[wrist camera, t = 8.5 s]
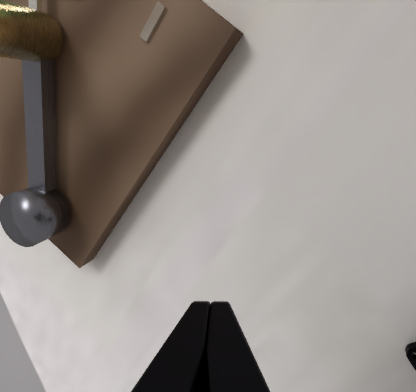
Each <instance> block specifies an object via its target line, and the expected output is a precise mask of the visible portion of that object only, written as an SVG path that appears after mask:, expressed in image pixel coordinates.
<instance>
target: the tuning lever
mask: <svg viewBox="0 0 416 392" xmlns="http://www.w3.org/2000/svg"><path fill="white" fill-rule="evenodd" d="M28 3H29V7H25V6H22V5H19V4H15V3H12V2H9V1H5V0H0V57H2V58H10V59H18V60H22V75H23V94H24V112H25V131H26V150H27V169H28V188H27V189H24V190H20V191H17V192H13V193H10V194H7V195H6V196H5V197H4V198H3V199H2V201H1V203H0V222H1V225H2V227H3V229H4V231H5V232H6V234H7V235H8V236H9V237H10V239H12V240H13V241H14V242H15V243H17V244H19V245H21V246H24V247H31V246H34V245H36V244H38V243H40V242H42V241H44V240H46V239H48V238H50V237H53V236H55V235H57V234H59V233H61V232H63V231H64V230H65V229H66V228H67V227H68V225H69V222H70V209H69V205H68V203H67V201H66V199H65V197H64V196H63V194H62V193H61V192H60V191H59V190H58V189H57V181H56V144H55V106H54V68H53V60H55V59H56V58H57V56H58V55H59V53H60V51H61V47H62V33H61V29H60V27H59V25H58V23H57V21H56V20H55V19H54V18H53V17H52V16H51V15H50V14H48V13H45V12H43V10H42V0H28Z"/></svg>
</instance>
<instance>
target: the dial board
mask: <svg viewBox="0 0 416 392" xmlns="http://www.w3.org/2000/svg"><path fill="white" fill-rule="evenodd" d="M5 1H9V2H12V3H15V4H19V5H22V6H25V7H29V3H28V0H5ZM42 10H43V12H45V13H48V14H50V15H51V16H52V17H53V18H54V19H55V20H56V21H57V23H58V25H59V27H60V29H61V33H62V47H61V51H60V53H59V55H58V56H57V58H56V59H55V60H53V68H54V106H55V144H56V181H57V189H58V190H59V191H60V192H61V193H62V194H63V196H64V197H65V199H66V201H67V203H68V205H69V209H70V222H69V225H68V227H67V228H66V229H65V230H64V231H63V232H61V233H59V234H57V235H55V236H53V237H50V238H48V239H49V240H50V241H51V242H52V243H53V244H54V245H55V246H57V247H58V248H59V249H60V250H61V251H62V252H63V253H64V254H65V255H66V256H67V257H68V258H69V259H70V260H71V261H72V262H74V263H75V264H76V265H77V266H78V267H79V268H80V267H82V266H83V265H85V264H87V263H88V262H90V261H91V260H93V258H94V257H95V255H96V254H97V252H98V251H99V249H100V248H101V246H102V245H103V243H104V242H105V240H106V239H107V237H108V236H109V234H110V233H111V231H112V230H113V228H114V227H115V225H116V224H117V222H118V221H119V219H120V218H121V216H122V215H123V213H124V212H125V210H126V209H127V207H128V206H129V204H130V203H131V201H132V200H133V198H134V197H135V195H136V194H137V192H138V191H139V189H140V188H141V186H142V185H143V183H144V182H145V180H146V179H147V177H148V176H149V174H150V173H151V171H152V170H153V168H154V167H155V165H156V164H157V162H158V161H159V159H160V158H161V156H162V155H163V153H164V152H165V150H166V149H167V147H168V146H169V144H170V143H171V141H172V140H173V138H174V137H175V135H176V134H177V132H178V131H179V129H180V128H181V126H182V125H183V123H184V122H185V120H186V119H187V117H188V116H189V114H190V113H191V111H192V110H193V108H194V107H195V105H196V104H197V102H198V101H199V99H200V98H201V96H202V95H203V93H204V92H205V90H206V89H207V87H208V86H209V84H210V83H211V81H212V80H213V78H214V77H215V75H216V74H217V72H218V71H219V69H220V68H221V66H222V65H223V63H224V62H225V60H226V59H227V57H228V56H229V54H230V53H231V51H232V50H233V48H234V47H235V45H236V44H237V42H238V41H239V39H240V38H241V36H242V35H243V33H242V32H241V31H239V30H238V29H237V28H236V27H234V26H233V25H232V24H231V23H229V22H228V21H227V20H226V19H224V18H223V17H222V16H220V15H219V14H218V13H217V12H215V11H214V10H213V9H212V8H210V7H209V6H208V5H207V4H205V3H204V2H203V1H202V0H42ZM27 188H28V169H27V150H26V131H25V112H24V94H23V75H22V60H18V59H10V58H2V57H0V194H1V195H2V196H3V197H5V196H6V195H7V194H10V193H13V192H17V191H20V190H24V189H27Z"/></svg>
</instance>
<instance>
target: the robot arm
mask: <svg viewBox="0 0 416 392" xmlns="http://www.w3.org/2000/svg"><path fill="white" fill-rule="evenodd" d="M405 352H406V355H407V358H408V359H409V361H410V363H411V364H412V366H413V367H414V369H415V370H416V355H414V354H412V353H413V352H416V342H414V343H410V344H409V345H407V346H406V348H405ZM131 392H270V390H269V388H268V386H267V384H266V382H265V379H264V377H263V375H262V373H261V371H260V369H259V366H258V364H257V362H256V360H255V358H254V355H253V353H252V351H251V349H250V347H249V345H248V342H247V340H246V338H245V336H244V334H243V332H242V329H241V327H240V325H239V323H238V321H237V318H236V316H235V314H234V312H233V310H232V308H231V305H230V304H229V303H228V302H220V301H214V302H212V303H211V304H210V302H208V301H194V302H192V304H191V305H190V306H189V308H188V309H187V311H186V312H185V314H184V315H183V317H182V318H181V319H180V321H179V322H178V324H177V325H176V327H175V328H174V330H173V331H172V333H171V334H170V336H169V337H168V338H167V340H166V341H165V343H164V344H163V346H162V347H161V349H160V350H159V352H158V353H157V355H156V356H155V357H154V359H153V360H152V362H151V363H150V365H149V366H148V368H147V369H146V371H145V372H144V374H143V375H142V377H141V378H140V379H139V381H138V382H137V384H136V385H135V387H134V388H133V390H132V391H131Z"/></svg>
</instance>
